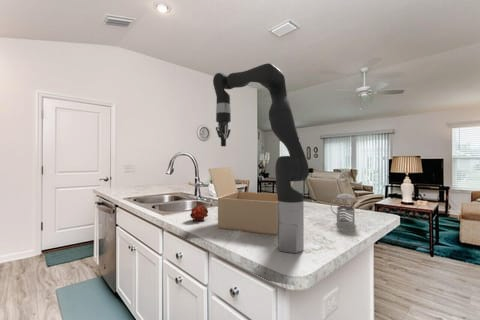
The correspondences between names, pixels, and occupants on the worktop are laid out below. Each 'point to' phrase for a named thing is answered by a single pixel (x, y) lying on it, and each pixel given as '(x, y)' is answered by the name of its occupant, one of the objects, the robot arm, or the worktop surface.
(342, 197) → the french press
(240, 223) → the carton
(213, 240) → the worktop surface
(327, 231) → the worktop surface
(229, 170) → the flap left
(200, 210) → the dragon fruit
